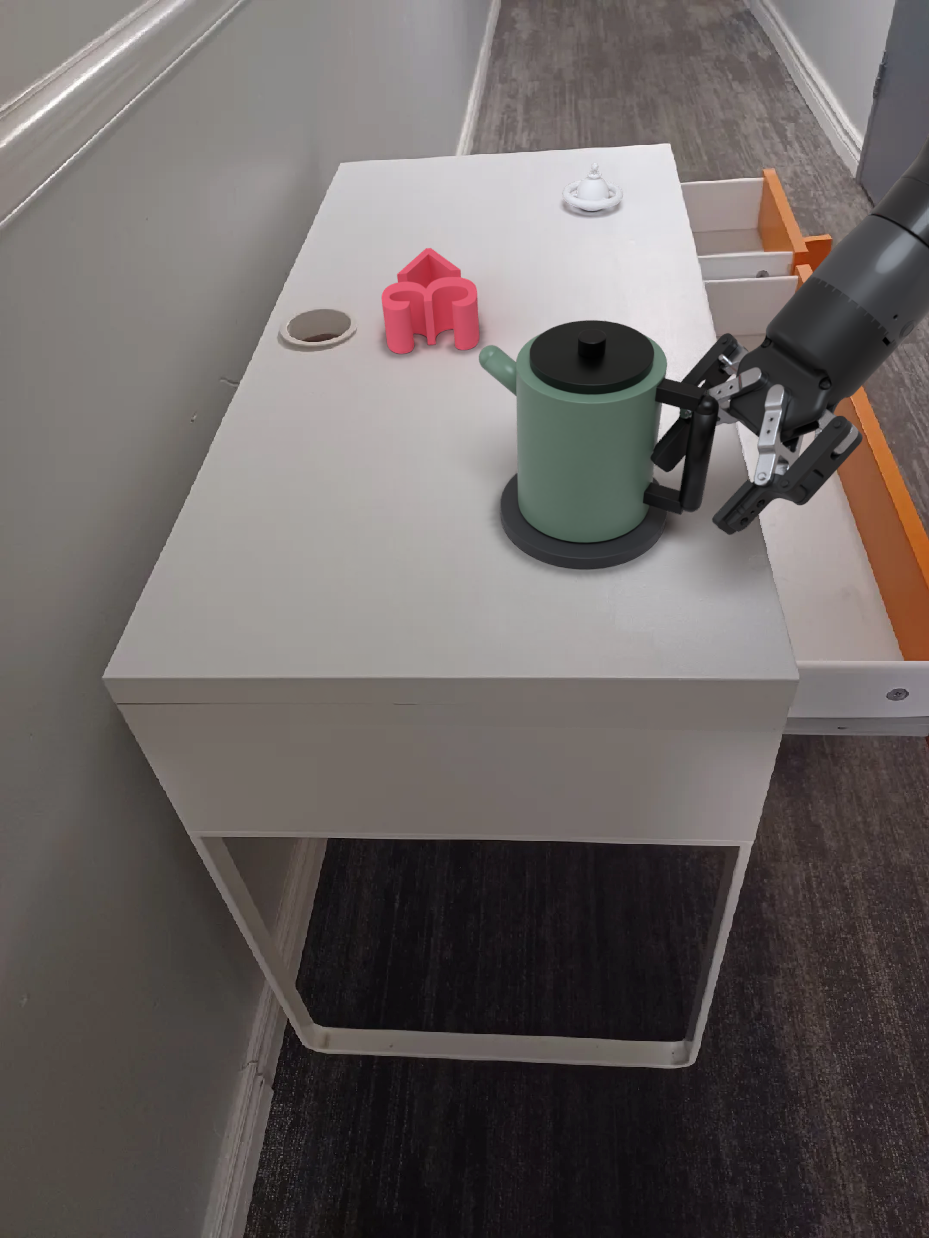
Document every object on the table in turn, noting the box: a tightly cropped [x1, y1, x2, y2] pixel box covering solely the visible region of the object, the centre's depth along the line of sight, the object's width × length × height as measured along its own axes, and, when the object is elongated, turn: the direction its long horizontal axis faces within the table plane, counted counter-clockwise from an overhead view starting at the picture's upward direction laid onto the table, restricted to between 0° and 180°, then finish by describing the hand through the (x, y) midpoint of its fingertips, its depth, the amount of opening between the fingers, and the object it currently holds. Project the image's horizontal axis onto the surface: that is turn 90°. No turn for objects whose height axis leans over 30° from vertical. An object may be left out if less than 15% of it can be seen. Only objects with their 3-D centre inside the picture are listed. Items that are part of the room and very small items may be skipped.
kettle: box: [478, 319, 719, 543], centre depth 68 cm, size 19×11×15 cm, turn 59°
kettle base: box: [499, 471, 668, 570], centre depth 75 cm, size 14×14×1 cm
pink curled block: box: [381, 247, 480, 355], centre depth 97 cm, size 14×10×5 cm
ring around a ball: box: [561, 162, 624, 212], centre depth 115 cm, size 8×6×8 cm
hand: (688, 496), depth 64 cm, fingers open, 8 cm apart
